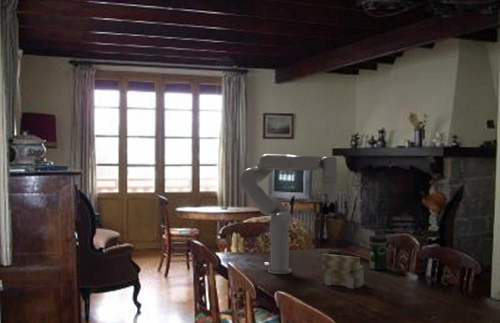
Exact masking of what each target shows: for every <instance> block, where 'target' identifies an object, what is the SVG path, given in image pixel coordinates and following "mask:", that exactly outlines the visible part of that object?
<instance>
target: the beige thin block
mask: <svg viewBox="0 0 500 323" xmlns="http://www.w3.org/2000/svg"><path fill="white" fill-rule="evenodd" d="M360 266H361V257H360V256H359V257H358V256H352V255H351V256H350V255H342V254H341V255H332V254H328V253H322V254H321V284H324V285H325V274H326V275H331V284H332V285H331V286H333V285H334V286H339V287H340V286H342V287H347V277H351V278H354V287H355V288H354V289H356V288H357V289H359V288H361V287H360Z"/></svg>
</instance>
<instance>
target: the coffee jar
mask: <svg viewBox="0 0 500 323" xmlns="http://www.w3.org/2000/svg"><path fill="white" fill-rule="evenodd" d="M368 243H369V244H368V245H369V259H368V268H369V269H370V270H372V271H373V270H375V271H382V270H387V269H388V260H387V244H388V238H387V236H385V235H383V234H377V235H375V234H374V235H370V236H369V238H368Z"/></svg>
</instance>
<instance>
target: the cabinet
mask: <svg viewBox="0 0 500 323" xmlns="http://www.w3.org/2000/svg"><path fill="white" fill-rule="evenodd" d="M364 270H365V266H364V265H360V287H359V288H361V287H362V286H364V280H365V279H364ZM324 286H326V287H327V286H329V287H331V286H333V285H332V284H331V275H326V274H325V284H324ZM346 289H352V290H353V289H356V288H355V287H354V278H351V277H347V286H346Z"/></svg>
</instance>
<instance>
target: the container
mask: <svg viewBox="0 0 500 323" xmlns="http://www.w3.org/2000/svg"><path fill="white" fill-rule="evenodd" d="M327 254H332V255H342V252H341V251H339V250H329V251H328V253H327Z"/></svg>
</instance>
